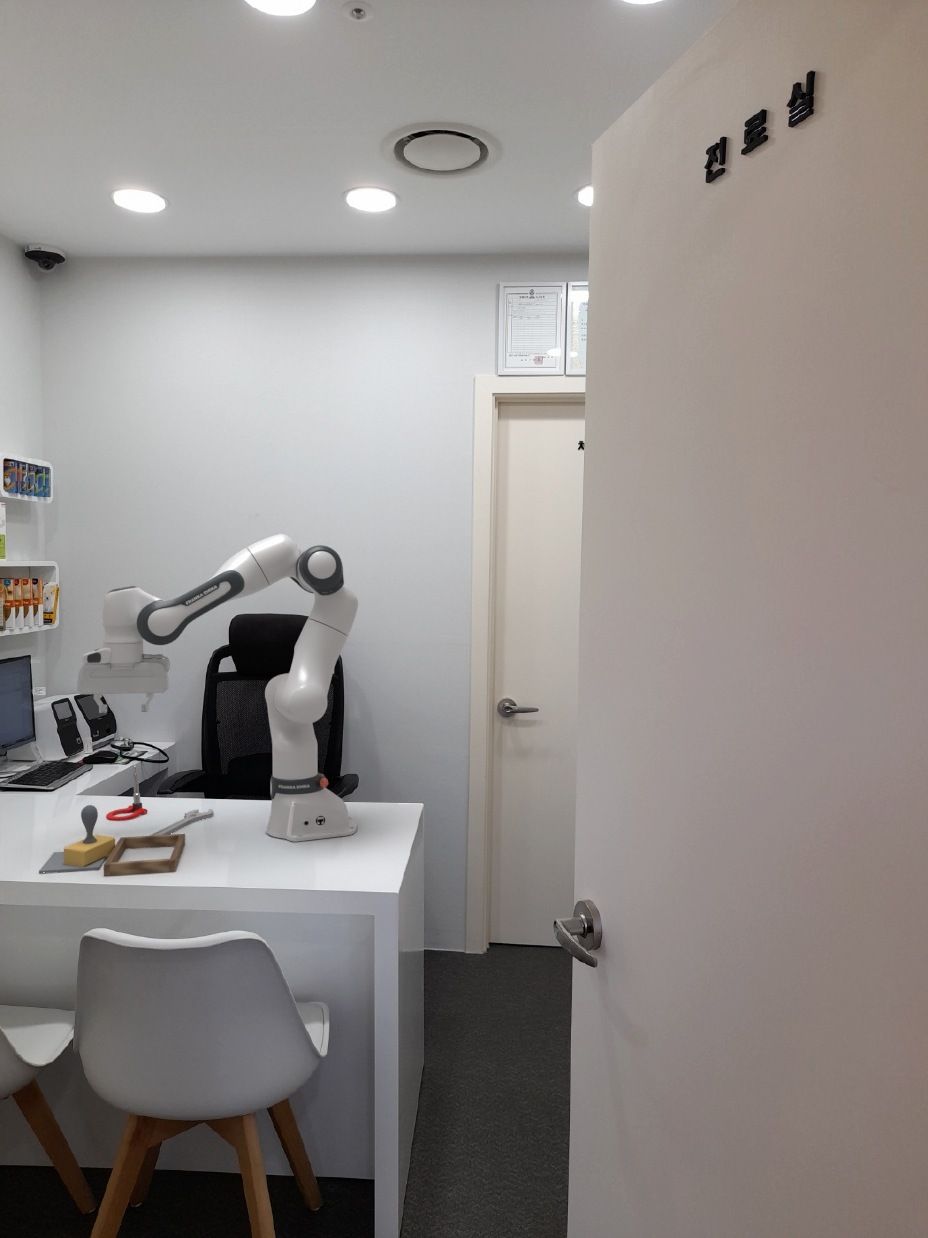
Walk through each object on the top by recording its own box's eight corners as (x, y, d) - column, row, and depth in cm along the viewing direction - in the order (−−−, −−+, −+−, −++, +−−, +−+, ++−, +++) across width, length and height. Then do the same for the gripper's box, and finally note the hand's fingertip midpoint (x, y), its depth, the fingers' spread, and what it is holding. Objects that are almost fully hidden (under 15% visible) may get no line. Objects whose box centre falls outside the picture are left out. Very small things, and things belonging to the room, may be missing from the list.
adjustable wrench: (153, 846, 196) (153, 838, 196) (131, 842, 198) (131, 835, 198) (217, 816, 219) (217, 809, 219) (197, 813, 222) (197, 807, 222)
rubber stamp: (95, 849, 189) (94, 798, 189) (116, 852, 188) (115, 800, 187) (62, 864, 180) (61, 810, 179) (84, 867, 178) (83, 812, 178)
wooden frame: (185, 844, 196) (185, 833, 196) (175, 871, 178) (174, 860, 178) (120, 848, 193) (120, 837, 192) (103, 876, 175) (103, 864, 174)
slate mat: (110, 851, 190) (110, 849, 190) (99, 870, 178) (99, 867, 178) (54, 854, 188) (54, 852, 187) (39, 873, 176) (39, 871, 176)
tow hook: (119, 824, 212) (150, 814, 219) (116, 775, 211) (147, 767, 218) (99, 819, 216) (130, 809, 224) (96, 771, 215) (127, 763, 223)
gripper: (171, 652, 201) (171, 708, 202) (81, 653, 197) (82, 711, 197) (167, 655, 195) (168, 713, 196) (74, 656, 191) (75, 715, 191)
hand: (124, 712), depth 197 cm, fingers open, 8 cm apart
